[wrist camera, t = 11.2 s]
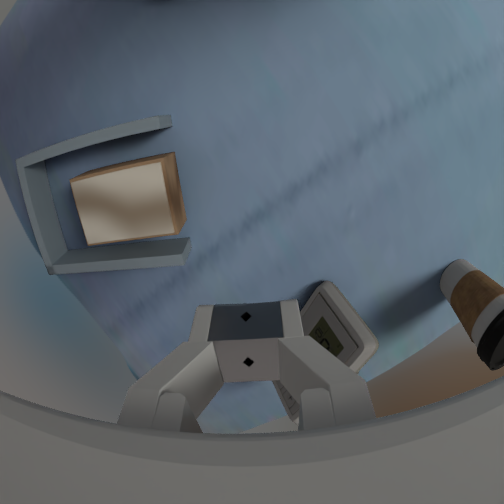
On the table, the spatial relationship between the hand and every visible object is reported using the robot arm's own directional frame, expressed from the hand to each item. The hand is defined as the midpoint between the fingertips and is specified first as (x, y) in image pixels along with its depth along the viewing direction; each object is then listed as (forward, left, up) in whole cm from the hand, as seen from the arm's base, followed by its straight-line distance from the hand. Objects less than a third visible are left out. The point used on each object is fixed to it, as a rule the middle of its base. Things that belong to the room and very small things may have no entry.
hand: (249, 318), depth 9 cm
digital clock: (+21, +6, -22) cm, 31 cm away
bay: (0, -16, -22) cm, 27 cm away
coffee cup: (+15, +28, -22) cm, 39 cm away
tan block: (0, -12, -22) cm, 25 cm away
